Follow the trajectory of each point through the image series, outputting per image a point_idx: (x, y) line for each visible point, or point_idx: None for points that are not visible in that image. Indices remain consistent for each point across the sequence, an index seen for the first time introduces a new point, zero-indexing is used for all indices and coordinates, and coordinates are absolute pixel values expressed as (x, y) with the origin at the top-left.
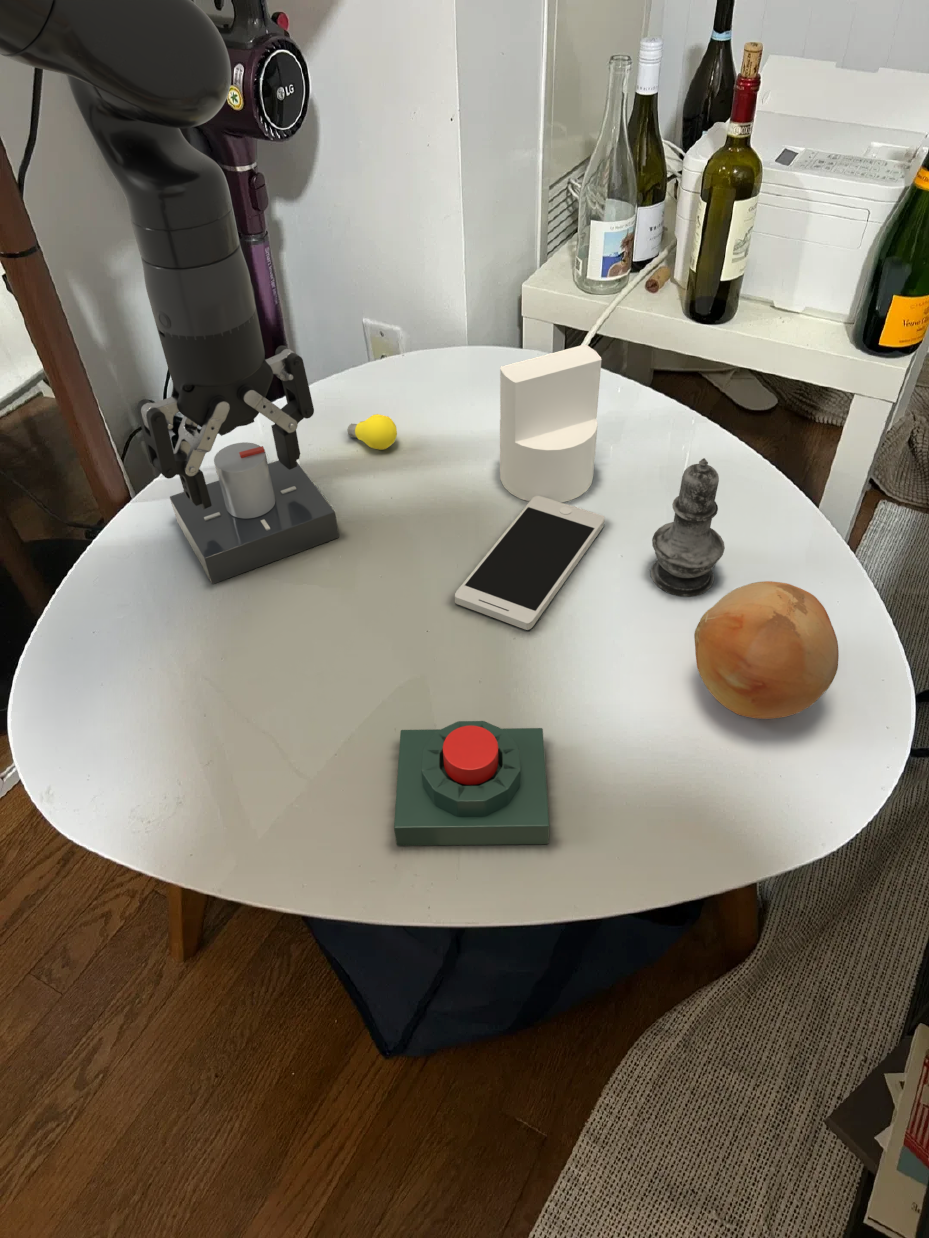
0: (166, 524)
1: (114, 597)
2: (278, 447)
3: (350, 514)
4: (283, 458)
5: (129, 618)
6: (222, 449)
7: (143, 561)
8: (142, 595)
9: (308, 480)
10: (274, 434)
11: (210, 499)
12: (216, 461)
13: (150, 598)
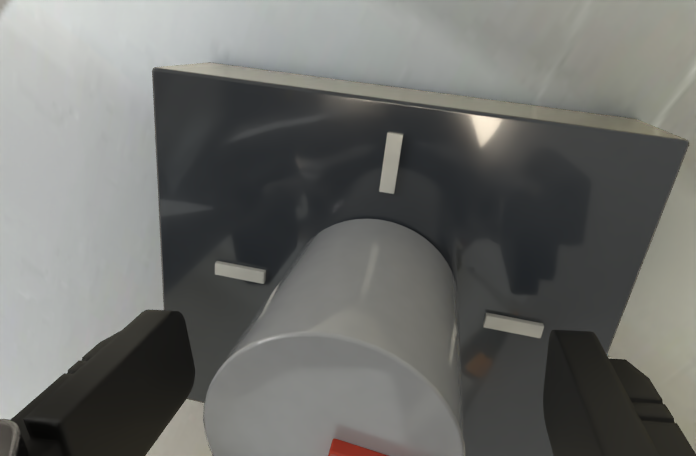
0: (178, 48)
1: (17, 234)
2: (569, 406)
3: (633, 364)
4: (555, 397)
5: (39, 309)
6: (279, 345)
7: (91, 163)
8: (71, 268)
9: (609, 323)
10: (593, 452)
11: (270, 184)
12: (216, 401)
13: (85, 287)
